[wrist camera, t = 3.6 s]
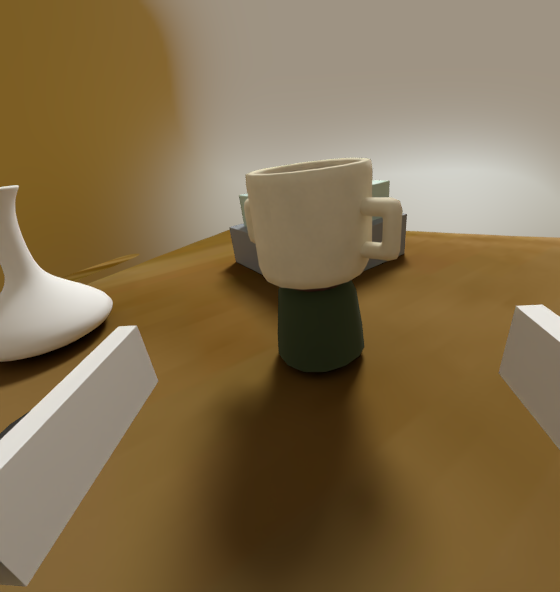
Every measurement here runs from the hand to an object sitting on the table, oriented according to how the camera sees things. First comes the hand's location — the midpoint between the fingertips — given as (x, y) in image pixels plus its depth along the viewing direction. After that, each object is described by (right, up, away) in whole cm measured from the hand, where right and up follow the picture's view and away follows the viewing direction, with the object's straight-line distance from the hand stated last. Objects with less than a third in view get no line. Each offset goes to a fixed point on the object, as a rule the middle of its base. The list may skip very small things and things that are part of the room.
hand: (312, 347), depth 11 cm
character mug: (+2, -2, +12) cm, 12 cm away
